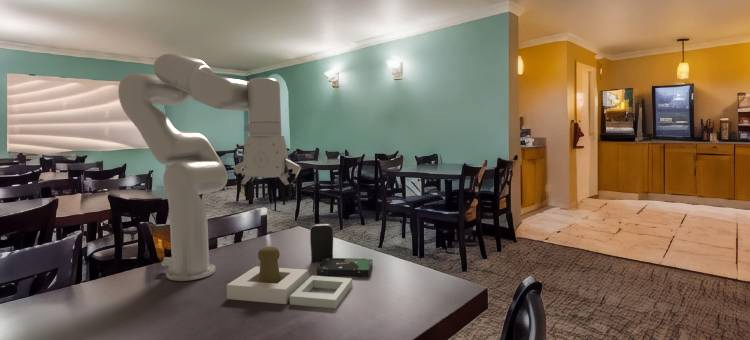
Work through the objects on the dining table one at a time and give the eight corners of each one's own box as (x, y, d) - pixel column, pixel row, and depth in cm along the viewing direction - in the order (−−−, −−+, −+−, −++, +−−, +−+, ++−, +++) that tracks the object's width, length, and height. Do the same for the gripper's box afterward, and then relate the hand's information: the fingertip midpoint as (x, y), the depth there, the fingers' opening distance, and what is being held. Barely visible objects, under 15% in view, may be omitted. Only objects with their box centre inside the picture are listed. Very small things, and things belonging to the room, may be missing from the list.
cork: (263, 285, 107) (262, 244, 106) (285, 286, 106) (284, 244, 105) (253, 294, 101) (251, 250, 100) (277, 295, 100) (275, 251, 99)
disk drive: (316, 279, 113) (370, 279, 112) (316, 269, 113) (370, 269, 112) (323, 266, 123) (372, 266, 122) (323, 257, 123) (372, 257, 122)
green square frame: (290, 304, 95) (289, 296, 94) (312, 282, 108) (311, 275, 108) (335, 308, 92) (335, 299, 92) (352, 285, 106) (352, 278, 106)
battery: (332, 257, 130) (332, 222, 129) (333, 261, 126) (333, 224, 125) (310, 259, 129) (309, 223, 128) (310, 262, 125) (309, 225, 124)
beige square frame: (227, 299, 98) (226, 284, 98) (256, 278, 112) (256, 266, 111) (290, 304, 95) (289, 289, 94) (312, 282, 108) (311, 269, 108)
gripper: (224, 130, 98) (227, 202, 99) (292, 129, 94) (294, 203, 96) (241, 131, 105) (244, 197, 107) (304, 129, 101) (306, 198, 103)
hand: (268, 200), depth 101 cm, fingers open, 9 cm apart
